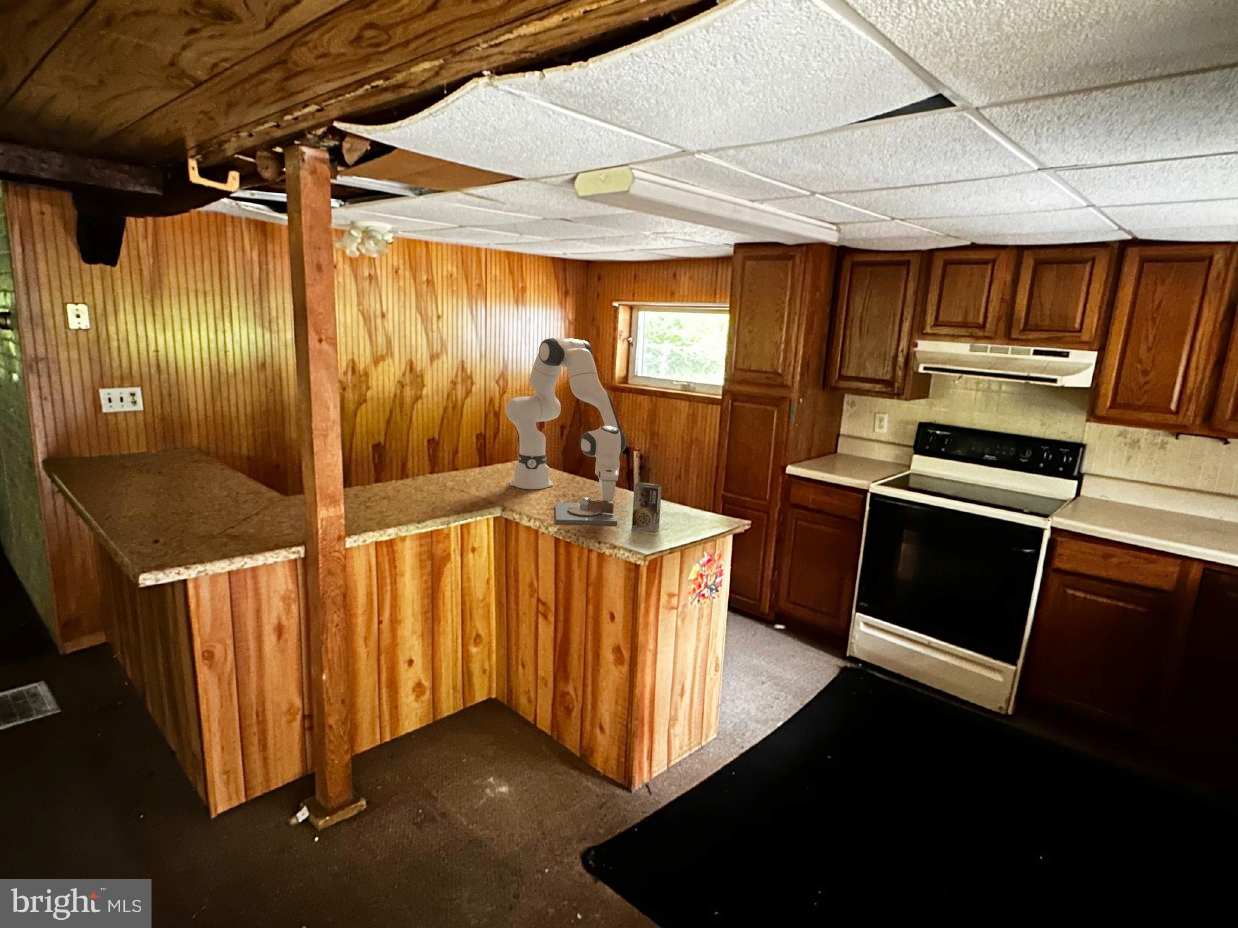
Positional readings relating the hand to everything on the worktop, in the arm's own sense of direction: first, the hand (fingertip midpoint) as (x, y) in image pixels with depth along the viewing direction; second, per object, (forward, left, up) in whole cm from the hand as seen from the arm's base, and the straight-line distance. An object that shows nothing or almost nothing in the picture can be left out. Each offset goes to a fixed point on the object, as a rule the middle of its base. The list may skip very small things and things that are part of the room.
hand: (604, 505), depth 246 cm
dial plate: (-1, -7, -4) cm, 8 cm away
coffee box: (+13, +14, -4) cm, 20 cm away
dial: (0, -5, -2) cm, 6 cm away
